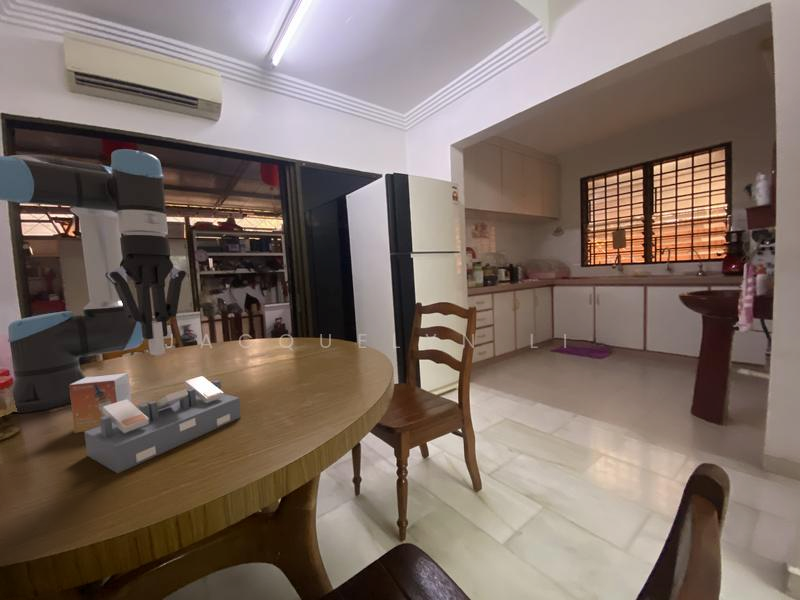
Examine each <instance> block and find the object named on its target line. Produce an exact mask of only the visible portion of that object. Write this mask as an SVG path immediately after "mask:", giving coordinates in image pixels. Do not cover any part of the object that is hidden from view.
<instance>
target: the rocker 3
mask: <svg viewBox="0 0 800 600" xmlns="http://www.w3.org/2000/svg"><path fill="white" fill-rule="evenodd" d="M184 386H185V387H186V389H187V390H188V389H195V394H196V395H197V396H198V397H199V398H200V399H202V400H203V401H204V402H205V403H208V402H211V401H214V400H216V399H219V398H222V397H223V394H224V392H223V390H222V389H221V390H220V389H218V388H217V387H216V386H215V385H213V384H212V382H211V381H209V380H208V379H207V378H206V377H204V376H203V375H201V376H198V377H194V378H191V379H188V380H185V382H184Z"/></svg>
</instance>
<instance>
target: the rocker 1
mask: <svg viewBox="0 0 800 600" xmlns="http://www.w3.org/2000/svg"><path fill="white" fill-rule="evenodd" d="M103 413H104V414H105V415H106V416H110V417H111V420H112V422H113V423H114V424H115V425H116V426H117V427H118V428H119V429H120V430H121V431H122V432H123V433H126V432H129V431H131V430H134V429H137V428H139V427H142V426H145V425H147V424H149V418H148V417H147V416H146V415H145V414H143V413H142V412H141V411H140V410H139V407H136V405H135V404H133V403H132V401H131V402H130V401H129V400H128V399H126V400H123V401H120V402H116V403H113V404H110V405H106V406H103Z"/></svg>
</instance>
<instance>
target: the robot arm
mask: <svg viewBox="0 0 800 600" xmlns="http://www.w3.org/2000/svg"><path fill="white" fill-rule="evenodd" d="M110 156H111V157H110V159H111V164H110V166H108V165H103V164H100V163H99V164H96V163H91V162H83V161H80V160H79V161H77V160H72V159H67V158H60V157H55V156H49V155H42V154H13V155H8V156H6V155H5V156H4V155H0V200H1V201H8V202H14V203H17V204H33V205H34V204H36V205H45V206H46V205H47V206H48V205H49V206H56V207H57V206H58V207H59V206H60V207H69V211H70V212H72V213H73V214H75V215H76V216H77V217H78V219H79V220H78V222H79V227H80V228H79V229H80V234H81V235H80V236H81V244H82V245H81V246H82V252H83V259H84V266H85V267H84V268H85V273H86V274H85V275H86V282H87V290H88V298H89V302H88V303H87V304H86V305H85V306H84V307H83V309H82V310H83V311H82V312H83V314H81V315H79V314H78V315H75V314H74V313H73V311H71V310H67V311H65V310H64V311H59V312H53V313H52V312H51V313H46V314H39V315H35V316H34V315H33V316H29V317H23V318H21V319H16V320H14V321H12V322H11V323H9V325H8V327H7V329H8V330H7V332H8V339H7V342H8V343H9V346H10V353H11V355H10V356H11V362H12V369H13V375H14V376H13V377H14V380H13V383H12V387H11V389H12V393H13V397H14V400H15V405H16V408H17V411H18V413H17V414H24V413H32V412H39V411H45V410H49V409H54V408H57V407H61V406H66V405H68V404H69V405H70V404H71V396H70V386H69V385H70V384H72V383H75V382H77V381H79V380H81V379H83V378H86V377H87V376H86V375H85V374H84V372H83V370H82V369H81V367H80V358H84V357H90V356H96V355H103V354H109V353H116V352H124V351H127V350H132V349H136V348H138V347H140V346H141V345H142V344H143V342H144V340H148V341H147V342H148V348H149V349H148V350H149V355H153V356H160V355H165V354H166V352H165V340H164V337H167V336H168V334H169V332H168V324H167V322H169V320H170V319H171V318H174V317H176V316H177V314H178V308H179V302H180V295H181V289H182V283H183V281H184V279H185V277H186V276H187V272H186V271H185V270H180V269H178V268H176V267H175V266H174V263H173V261H172V260H171V250H170V249H171V248H170V239H169V238H168V237H167V236H166V235H168V234H169V230H168V229H169V228H168V220H167V219H168V218H167V211H166V209H167V208H166V199H165V198H166V197H165V187H164V177H165V176H164V174H163V170H162V164H161V161H160V159H159V158H157V156H155V155H153V154H151V153H148V152H145V151H142V150H141V151H140V150H134V149H127V148H123V149H116V150H114V151H112V152H111V155H110ZM122 234H123V235H122ZM127 276H128V277H129V278H130V279H131V280H132V281H133V284H134V288H135V289H136V300H135V298H134V296H133V294H132V291H131V288H130V286H129V283H128V280H127ZM168 276H169V277H170V280H169V283H168V287H167V288H168V289H167V294H166V293H165V292H166V291H165V287H166V281H165V280H166V279H167V277H168ZM150 288H151V289H150ZM151 296H152V300H151ZM136 301H137V303H136ZM152 306H153V307H152ZM152 308H153V309H152ZM152 310H153V311H152ZM153 315H154V316H153ZM153 317H154V319H153ZM154 320H155V321H154Z"/></svg>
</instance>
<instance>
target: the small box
mask: <svg viewBox="0 0 800 600" xmlns="http://www.w3.org/2000/svg"><path fill="white" fill-rule="evenodd" d="M85 377H86V378H83V379H81V380H79V381H77V382H75V383H72V384H70V385H69V386H70V396H71V403H70V404H71V405H70V406H71V413H72V424H73V431H74V434H78V433H84V432H85V431H88V430H91V429H94V428H97V427H100V426H101V425H100V418H101V417H104V416H106V415H105V414H104V413H103V406H106V405H110V404H113V403H116V402H120V401H123V400H126V399H128V400H129V401H130V402H131V403H132V397H131V396H132V395H131V387H130V386H131V385H130V378H129V377H130V376H129V373H128V372H126V373H125V372H124V373H118V374H109V375H99V376H97V375H95V376H85Z"/></svg>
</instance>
